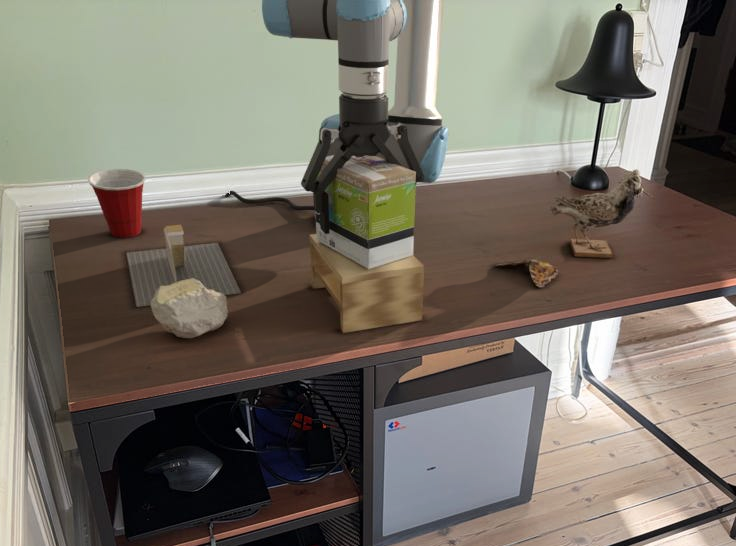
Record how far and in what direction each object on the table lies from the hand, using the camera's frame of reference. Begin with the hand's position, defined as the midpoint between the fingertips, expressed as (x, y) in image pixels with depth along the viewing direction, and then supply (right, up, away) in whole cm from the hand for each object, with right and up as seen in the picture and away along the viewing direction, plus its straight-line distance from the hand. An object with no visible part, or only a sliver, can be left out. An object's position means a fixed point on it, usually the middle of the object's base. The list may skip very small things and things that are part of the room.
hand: (364, 226), depth 123 cm
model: (-36, -6, +15) cm, 39 cm away
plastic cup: (-52, +4, +31) cm, 61 cm away
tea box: (0, -4, +2) cm, 4 cm away
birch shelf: (-1, -12, +7) cm, 14 cm away
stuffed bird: (+45, +1, +33) cm, 56 cm away
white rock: (-27, -18, -4) cm, 32 cm away
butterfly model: (+31, -5, +21) cm, 38 cm away
